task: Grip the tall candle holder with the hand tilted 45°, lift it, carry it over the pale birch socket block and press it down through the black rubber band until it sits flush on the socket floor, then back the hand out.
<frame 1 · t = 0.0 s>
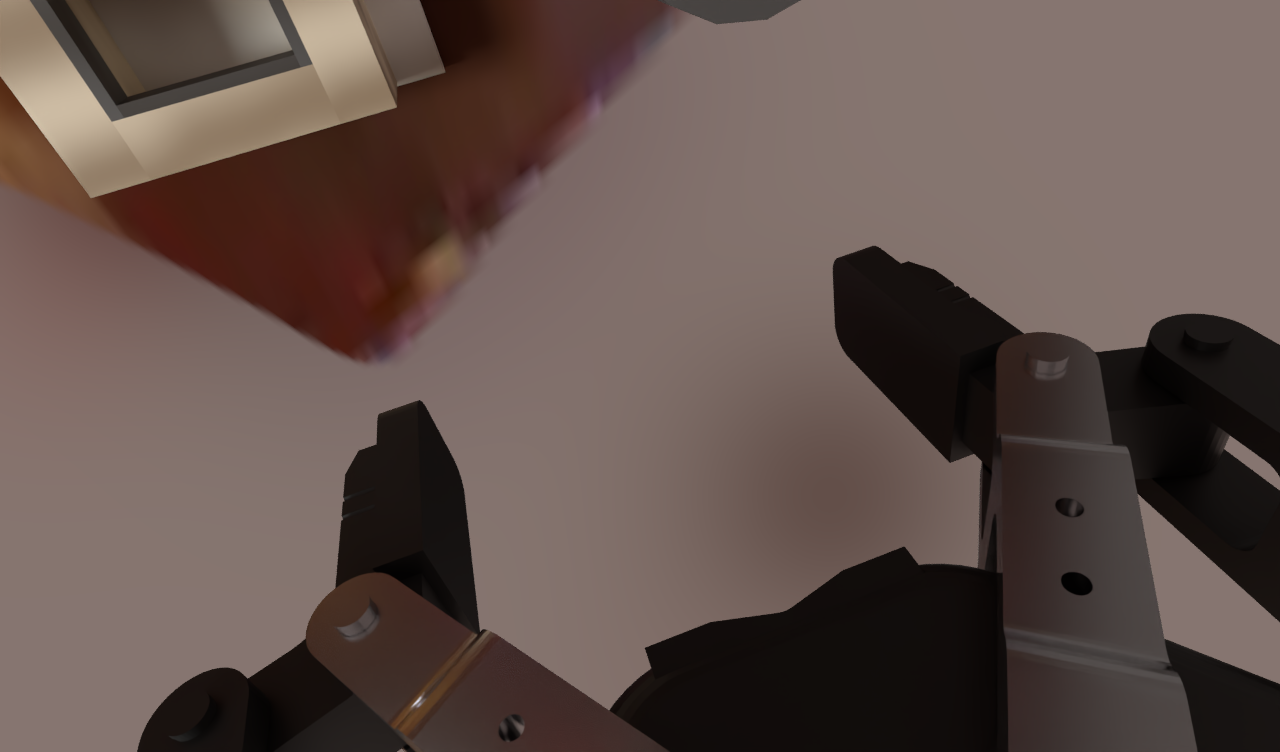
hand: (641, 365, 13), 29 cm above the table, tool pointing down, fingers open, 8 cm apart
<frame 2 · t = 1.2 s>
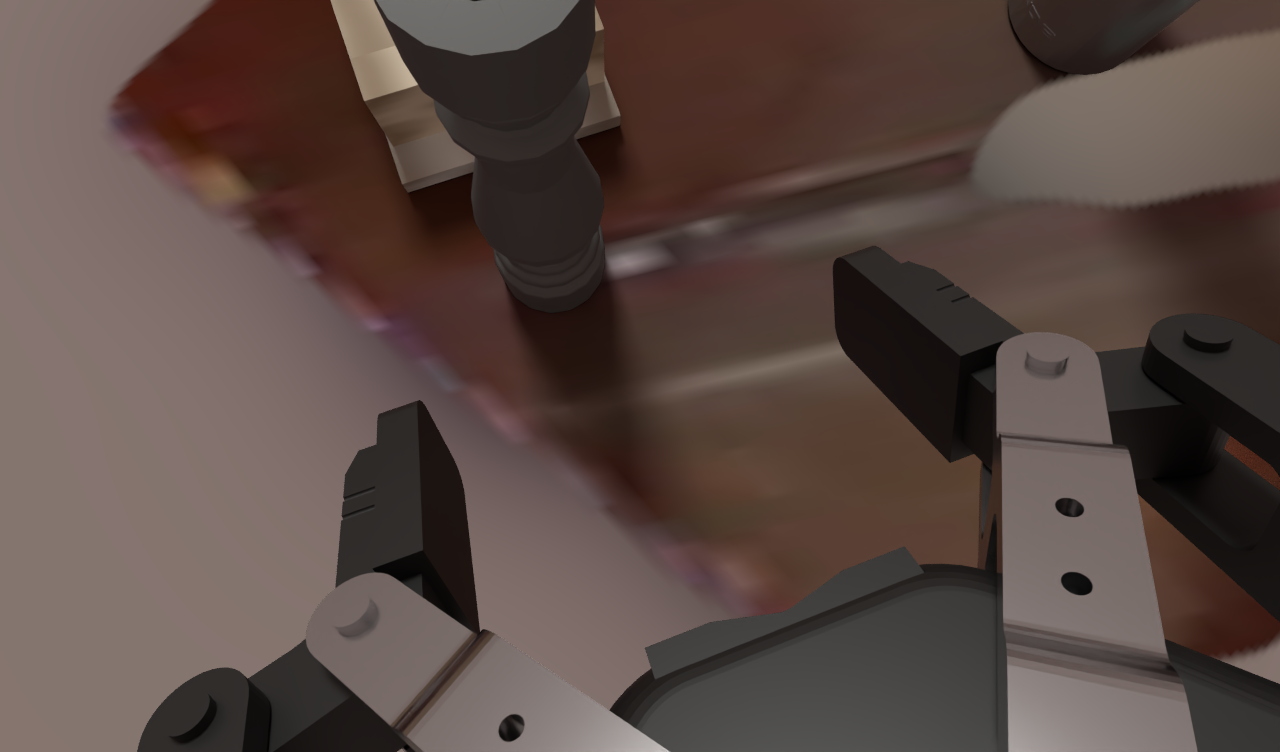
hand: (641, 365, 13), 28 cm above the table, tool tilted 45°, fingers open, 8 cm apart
candle holder: (553, 263, 42), on the table
socket: (469, 30, 44), on the table
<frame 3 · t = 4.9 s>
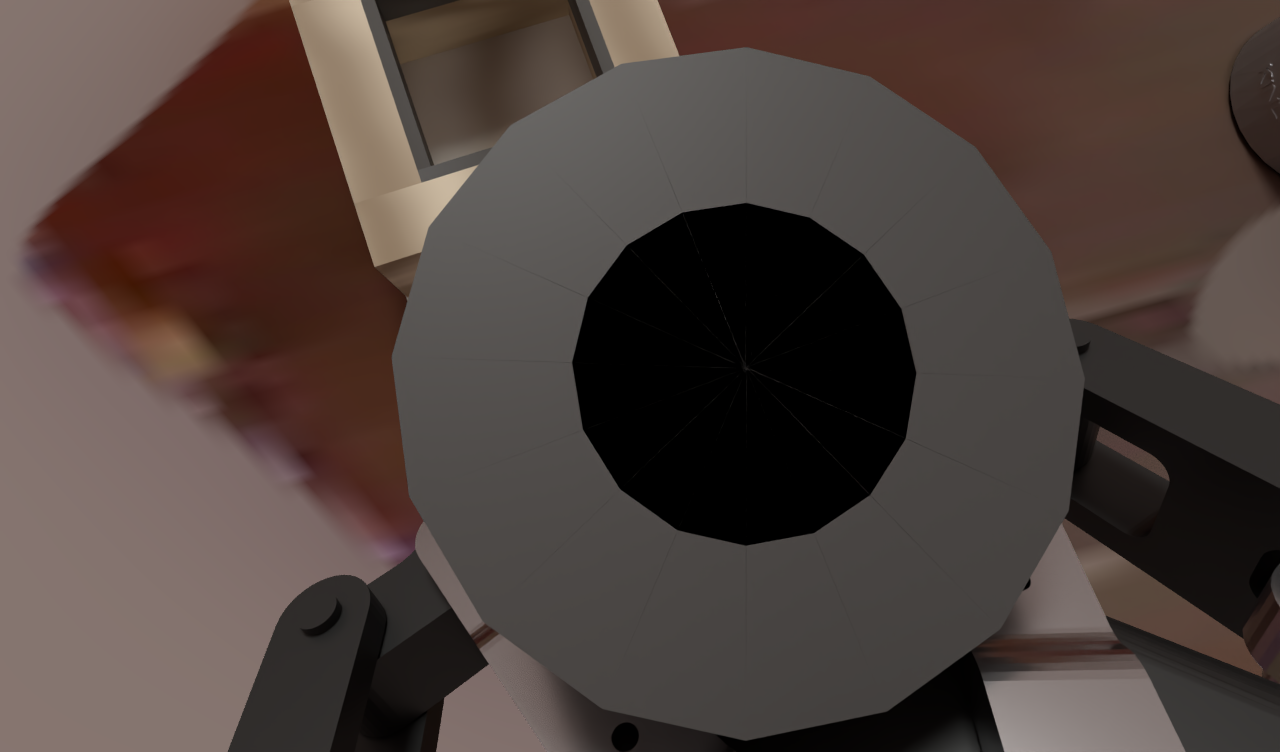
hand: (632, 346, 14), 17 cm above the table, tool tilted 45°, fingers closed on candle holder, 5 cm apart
candle holder: (631, 459, 31), on the table, touching gripper
socket: (515, 133, 32), on the table
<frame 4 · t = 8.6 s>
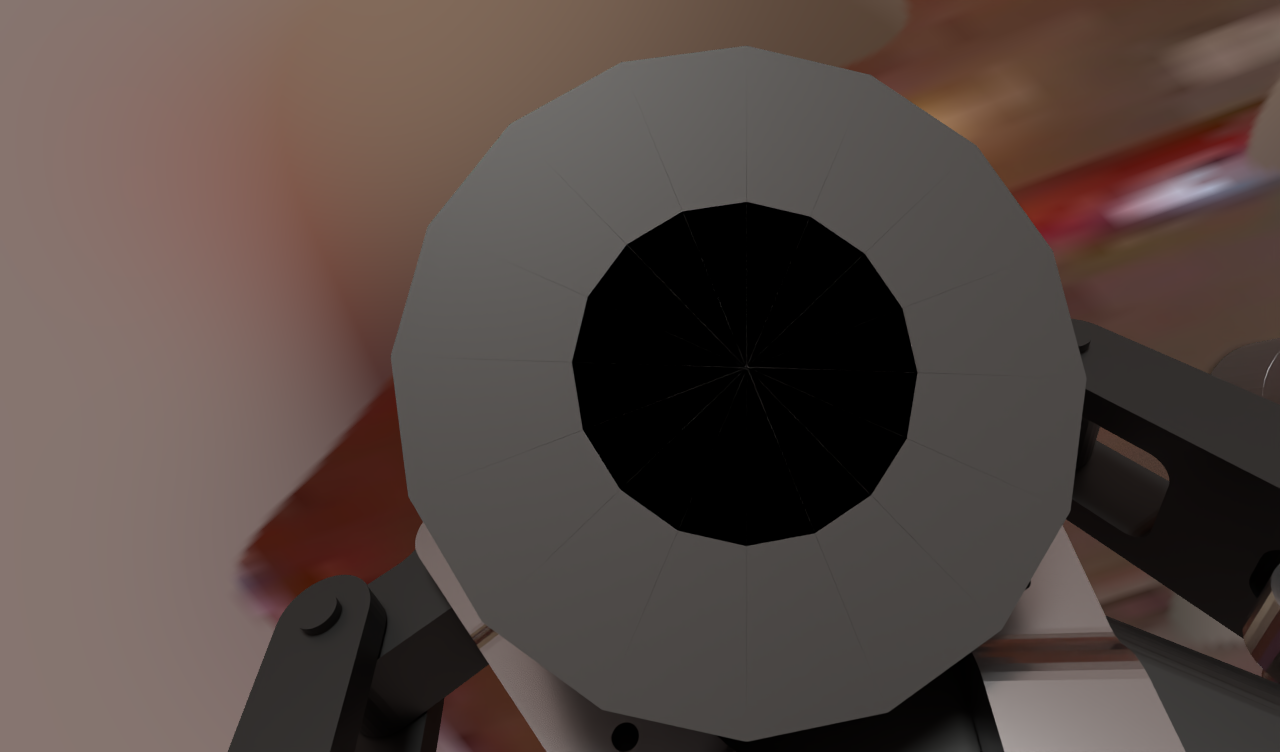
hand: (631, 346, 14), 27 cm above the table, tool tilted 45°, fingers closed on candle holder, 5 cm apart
candle holder: (631, 459, 31), point 10 cm above the table, touching gripper
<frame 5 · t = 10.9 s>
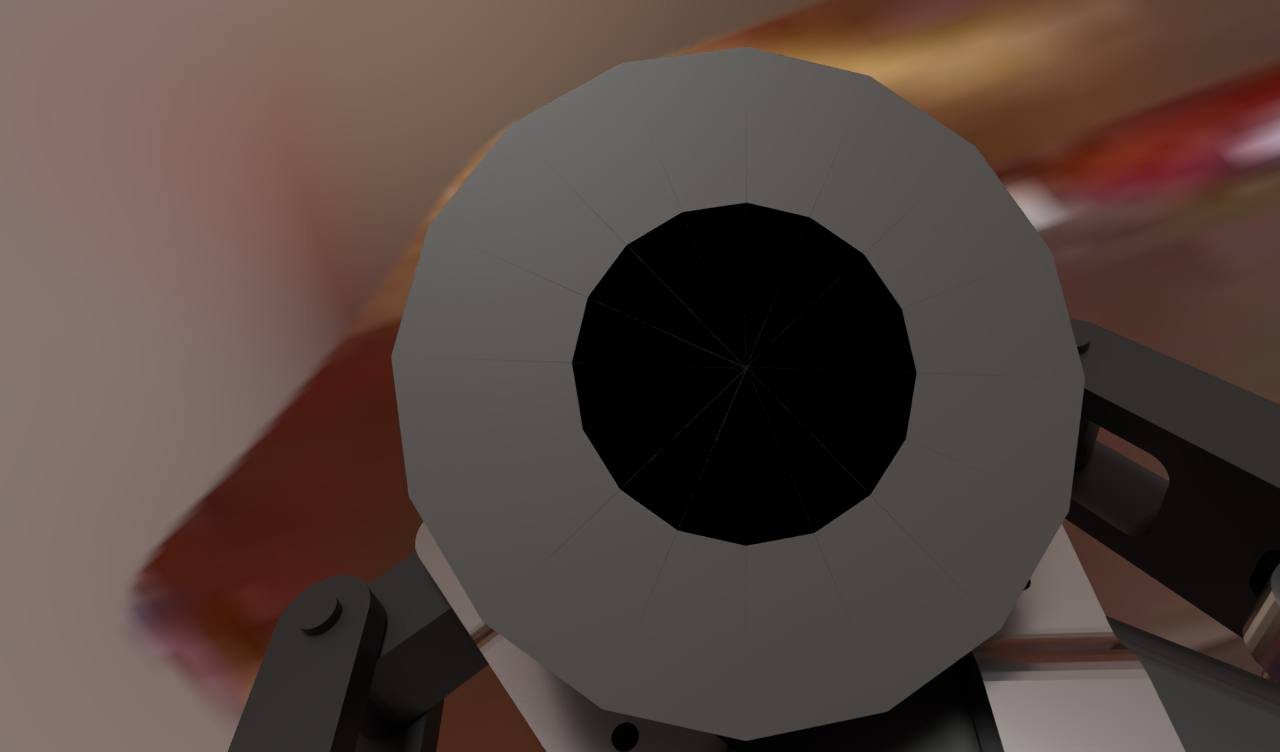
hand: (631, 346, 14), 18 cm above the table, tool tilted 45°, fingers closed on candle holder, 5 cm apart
candle holder: (631, 459, 31), point 1 cm above the table, touching gripper
when the fingers open (18 cm above the table, at t = 12.5 s): candle holder stays where it is, resting on socket.
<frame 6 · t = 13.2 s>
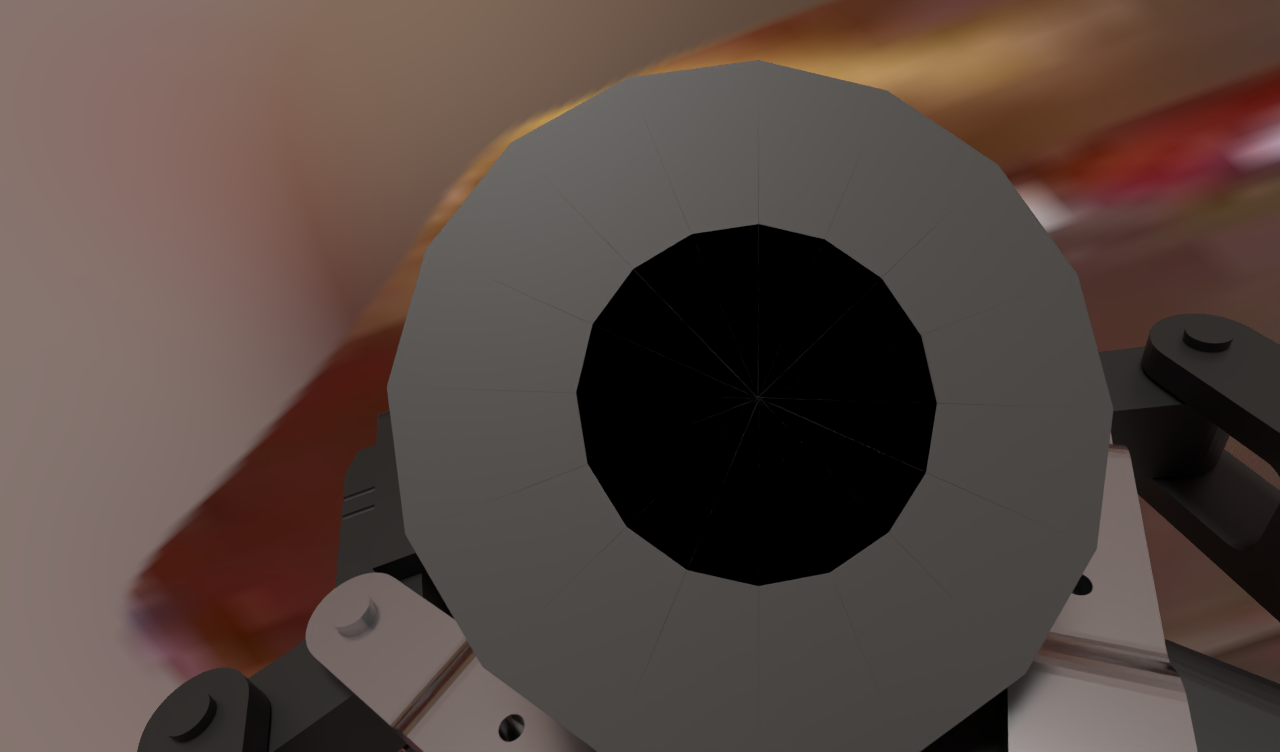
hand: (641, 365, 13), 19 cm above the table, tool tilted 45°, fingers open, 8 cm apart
candle holder: (633, 463, 30), point 1 cm above the table, touching socket
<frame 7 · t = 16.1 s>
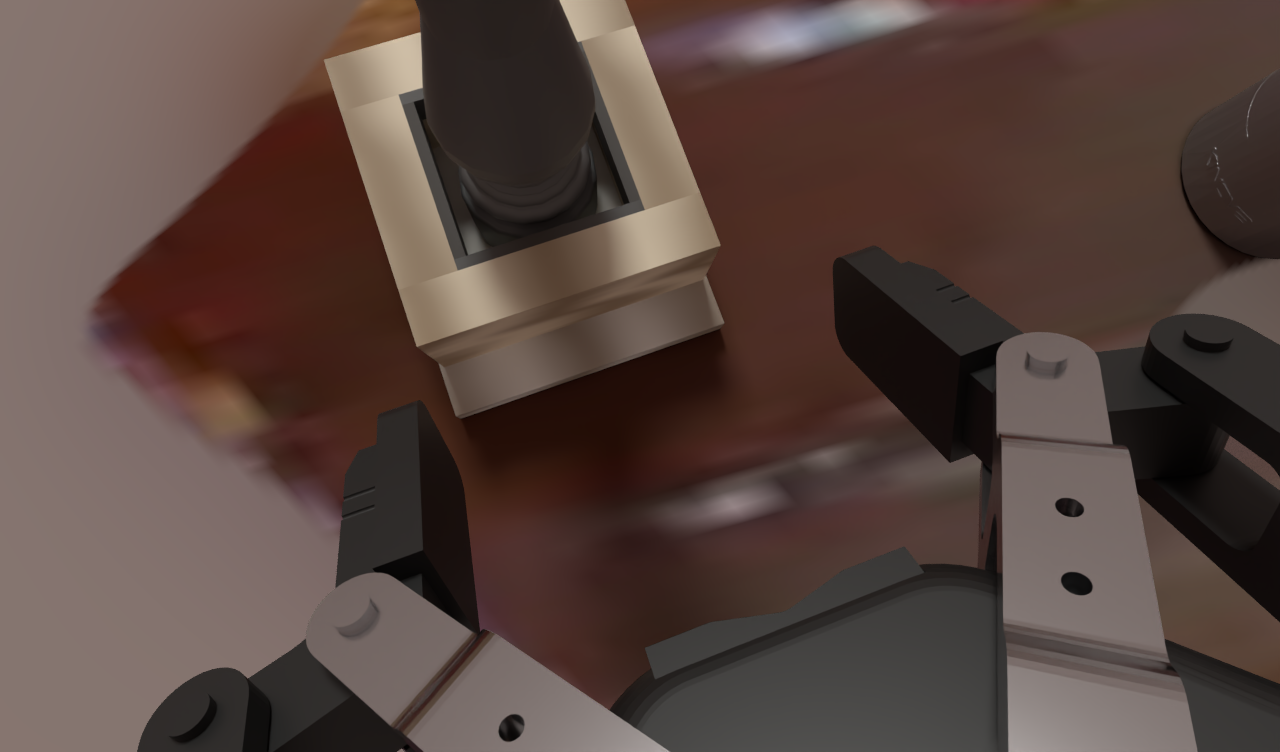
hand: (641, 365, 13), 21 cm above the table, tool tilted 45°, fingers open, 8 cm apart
candle holder: (535, 204, 35), point 1 cm above the table, touching socket
socket: (534, 209, 36), on the table
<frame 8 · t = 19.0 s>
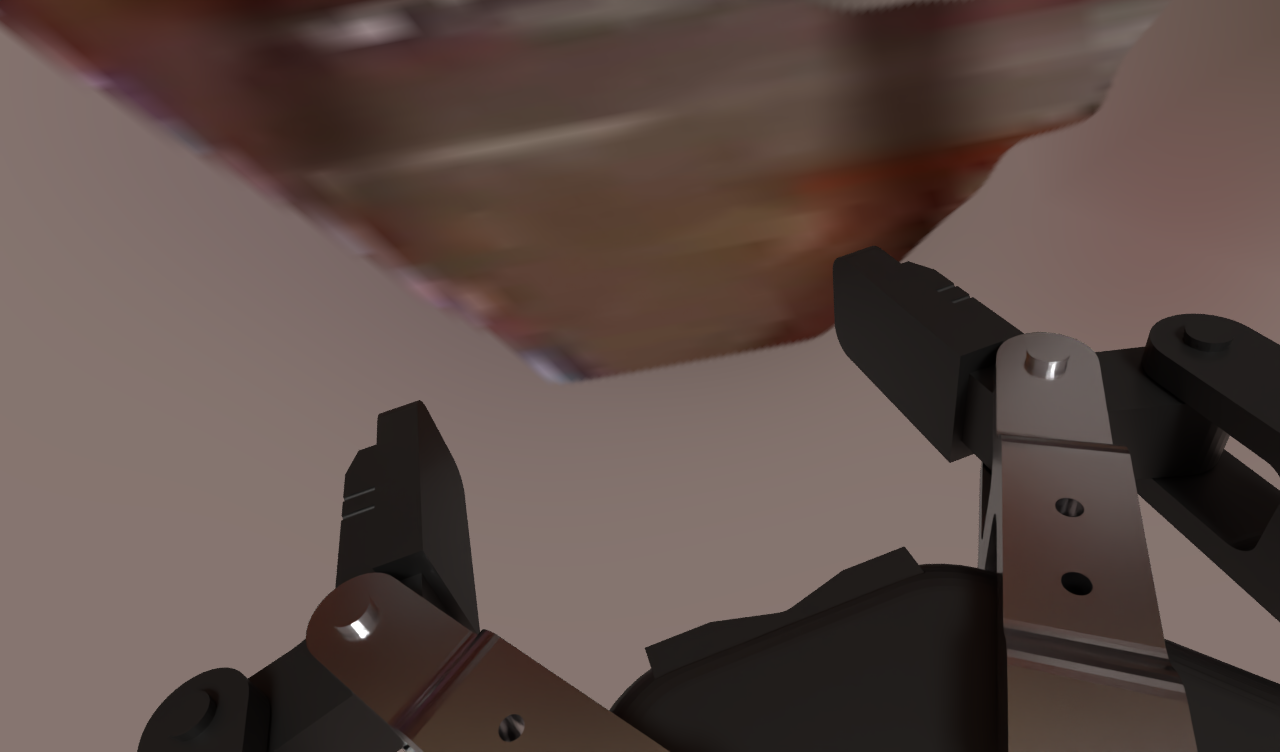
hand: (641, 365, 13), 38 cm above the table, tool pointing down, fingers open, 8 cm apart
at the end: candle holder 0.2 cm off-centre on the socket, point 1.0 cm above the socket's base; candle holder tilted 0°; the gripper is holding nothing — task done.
